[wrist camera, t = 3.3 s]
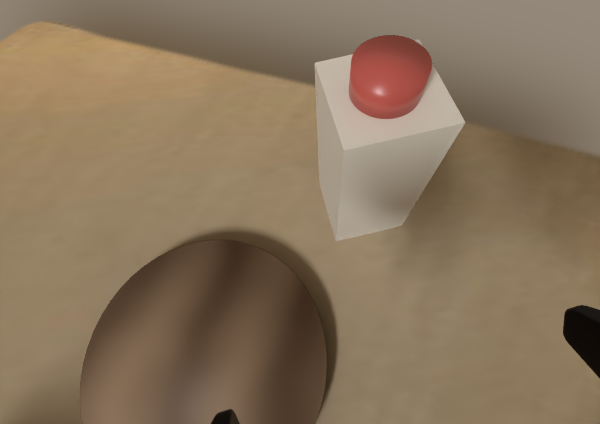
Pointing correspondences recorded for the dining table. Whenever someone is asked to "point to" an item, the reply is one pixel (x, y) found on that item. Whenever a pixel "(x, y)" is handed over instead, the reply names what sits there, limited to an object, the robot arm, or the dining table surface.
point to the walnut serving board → (207, 342)
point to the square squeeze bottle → (380, 132)
